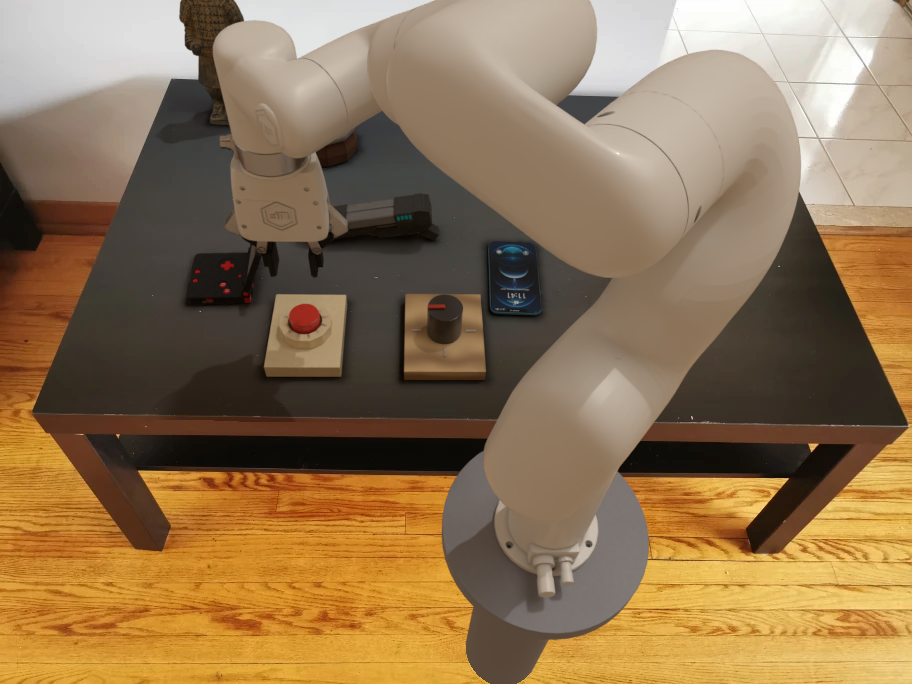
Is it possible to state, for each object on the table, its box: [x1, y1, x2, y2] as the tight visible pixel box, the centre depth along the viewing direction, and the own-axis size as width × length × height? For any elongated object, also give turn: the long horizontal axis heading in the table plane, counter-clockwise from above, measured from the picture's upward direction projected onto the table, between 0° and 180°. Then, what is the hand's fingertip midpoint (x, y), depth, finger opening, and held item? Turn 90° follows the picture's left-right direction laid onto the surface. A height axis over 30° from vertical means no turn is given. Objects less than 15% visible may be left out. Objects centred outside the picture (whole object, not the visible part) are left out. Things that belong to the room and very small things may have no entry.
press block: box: [263, 293, 348, 378], centre depth 98 cm, size 13×10×4 cm
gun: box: [329, 192, 440, 241], centre depth 111 cm, size 4×20×10 cm, turn 92°
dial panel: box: [403, 293, 487, 381], centre depth 99 cm, size 14×11×2 cm
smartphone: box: [487, 241, 542, 316], centre depth 108 cm, size 8×1×15 cm
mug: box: [316, 126, 359, 168], centre depth 122 cm, size 16×12×15 cm
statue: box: [178, 0, 245, 126], centre depth 119 cm, size 10×8×30 cm
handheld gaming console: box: [185, 243, 262, 305], centre depth 101 cm, size 9×12×10 cm
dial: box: [427, 293, 463, 344], centre depth 97 cm, size 5×5×5 cm
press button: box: [289, 304, 320, 334], centre depth 96 cm, size 4×4×2 cm
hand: (295, 267), depth 88 cm, fingers open, 4 cm apart
